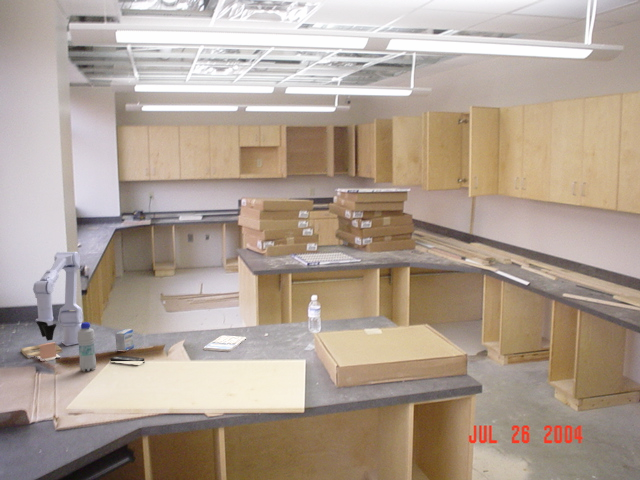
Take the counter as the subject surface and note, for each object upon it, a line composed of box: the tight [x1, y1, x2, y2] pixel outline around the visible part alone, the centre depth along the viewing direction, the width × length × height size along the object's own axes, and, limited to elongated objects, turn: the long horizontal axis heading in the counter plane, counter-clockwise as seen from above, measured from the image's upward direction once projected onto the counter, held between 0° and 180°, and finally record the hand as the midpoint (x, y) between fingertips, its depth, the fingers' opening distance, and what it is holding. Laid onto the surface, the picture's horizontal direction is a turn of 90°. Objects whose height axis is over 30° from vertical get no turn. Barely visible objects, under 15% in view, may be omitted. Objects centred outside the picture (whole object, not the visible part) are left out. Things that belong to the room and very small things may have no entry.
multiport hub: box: [109, 355, 145, 362], centre depth 239 cm, size 4×14×2 cm, turn 70°
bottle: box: [77, 321, 97, 372], centre depth 229 cm, size 7×7×20 cm
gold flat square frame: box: [20, 343, 63, 360], centre depth 256 cm, size 14×14×2 cm
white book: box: [203, 334, 247, 352], centre depth 263 cm, size 13×20×2 cm, turn 164°
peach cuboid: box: [38, 341, 57, 359], centre depth 246 cm, size 6×2×6 cm, turn 130°
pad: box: [38, 353, 61, 362], centre depth 247 cm, size 8×8×1 cm
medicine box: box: [115, 328, 135, 352], centre depth 257 cm, size 8×4×9 cm, turn 168°
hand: (47, 338), depth 246 cm, fingers open, 7 cm apart
